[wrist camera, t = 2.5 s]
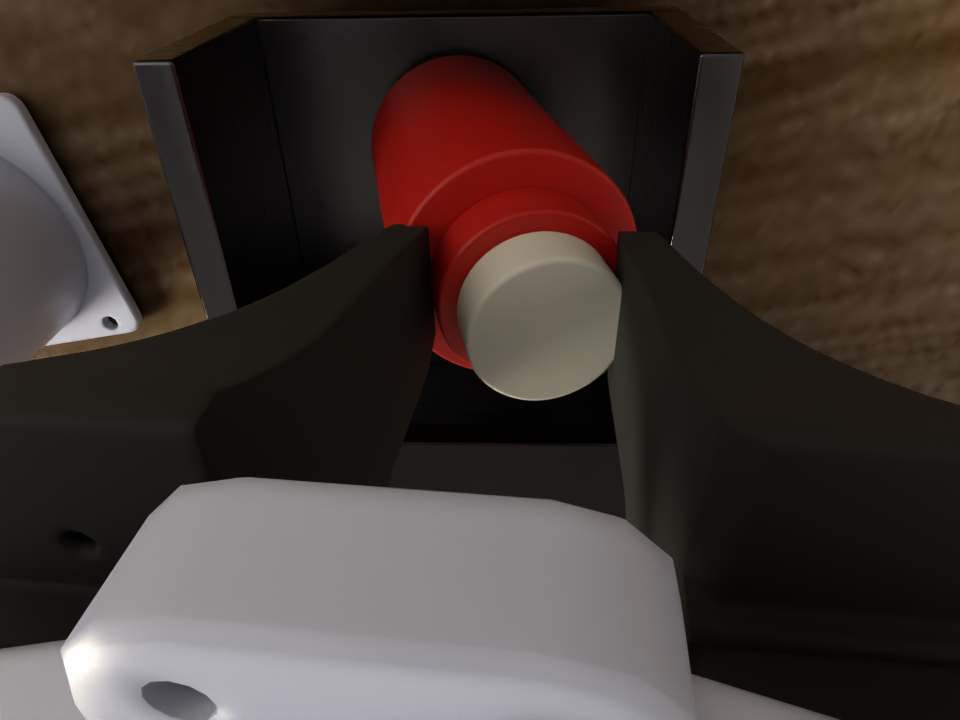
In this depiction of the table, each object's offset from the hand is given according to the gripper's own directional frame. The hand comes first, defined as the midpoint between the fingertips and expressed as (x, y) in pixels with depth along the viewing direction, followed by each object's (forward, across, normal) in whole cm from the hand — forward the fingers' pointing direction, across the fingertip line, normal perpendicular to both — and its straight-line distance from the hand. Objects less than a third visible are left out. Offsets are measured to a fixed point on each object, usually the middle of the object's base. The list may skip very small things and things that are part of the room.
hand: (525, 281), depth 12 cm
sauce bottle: (+7, +2, 0) cm, 7 cm away
